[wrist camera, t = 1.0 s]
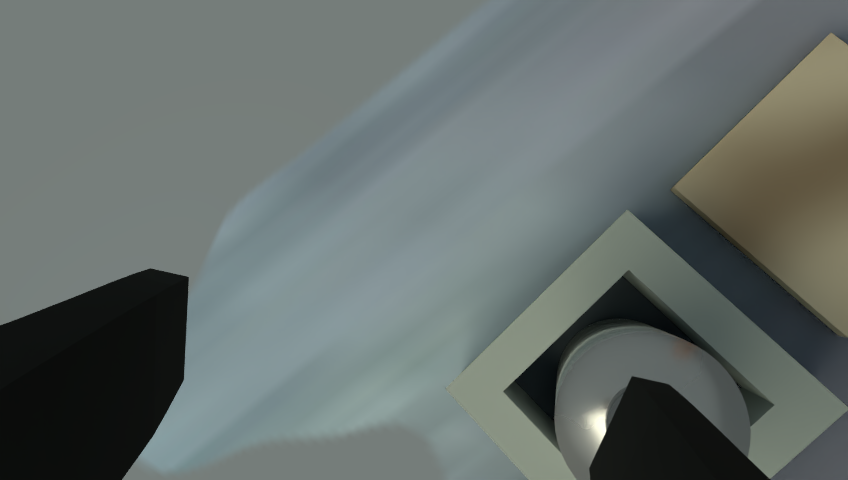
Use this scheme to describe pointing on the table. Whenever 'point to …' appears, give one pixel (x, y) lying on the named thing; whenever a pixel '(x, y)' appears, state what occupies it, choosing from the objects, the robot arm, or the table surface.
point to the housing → (688, 309)
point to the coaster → (788, 184)
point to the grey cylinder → (610, 374)
